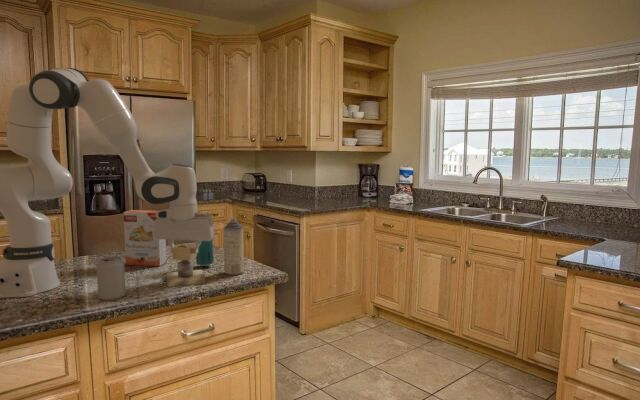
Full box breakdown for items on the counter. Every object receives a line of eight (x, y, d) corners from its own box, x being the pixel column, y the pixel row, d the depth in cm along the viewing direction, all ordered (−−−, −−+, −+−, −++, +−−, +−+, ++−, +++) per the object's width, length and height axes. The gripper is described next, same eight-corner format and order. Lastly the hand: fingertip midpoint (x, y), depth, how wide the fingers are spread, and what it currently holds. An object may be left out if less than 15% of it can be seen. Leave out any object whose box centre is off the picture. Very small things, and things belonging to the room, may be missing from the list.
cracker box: (124, 265, 168) (122, 211, 165) (133, 261, 173) (131, 209, 171) (159, 267, 166) (157, 212, 163) (167, 263, 172) (165, 210, 169)
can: (106, 293, 136) (104, 255, 135) (130, 293, 136) (128, 255, 134) (93, 301, 129) (90, 261, 127) (118, 301, 128) (116, 261, 127)
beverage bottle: (209, 269, 163) (208, 216, 161) (192, 268, 164) (191, 215, 162) (216, 265, 169) (215, 213, 167) (201, 264, 171) (199, 213, 168)
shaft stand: (167, 286, 142) (166, 250, 141) (166, 276, 154) (165, 243, 152) (205, 283, 147) (204, 247, 145) (202, 273, 158) (201, 240, 156)
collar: (172, 259, 146) (172, 247, 146) (180, 255, 152) (179, 244, 152) (190, 260, 146) (189, 248, 145) (196, 255, 152) (196, 244, 151)
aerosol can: (247, 272, 159) (246, 218, 157) (232, 276, 154) (231, 220, 152) (235, 269, 164) (235, 216, 161) (220, 273, 158) (219, 218, 156)
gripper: (216, 211, 149) (217, 251, 151) (160, 210, 152) (161, 249, 153) (209, 214, 143) (210, 256, 144) (150, 212, 146) (152, 253, 147)
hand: (184, 252), depth 149 cm, fingers closed on collar, 6 cm apart
